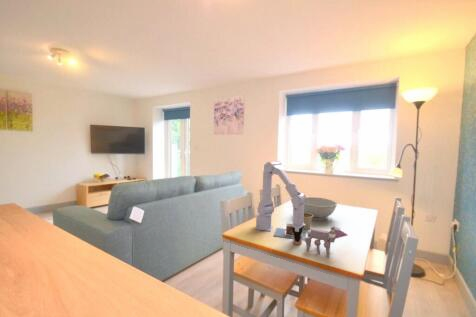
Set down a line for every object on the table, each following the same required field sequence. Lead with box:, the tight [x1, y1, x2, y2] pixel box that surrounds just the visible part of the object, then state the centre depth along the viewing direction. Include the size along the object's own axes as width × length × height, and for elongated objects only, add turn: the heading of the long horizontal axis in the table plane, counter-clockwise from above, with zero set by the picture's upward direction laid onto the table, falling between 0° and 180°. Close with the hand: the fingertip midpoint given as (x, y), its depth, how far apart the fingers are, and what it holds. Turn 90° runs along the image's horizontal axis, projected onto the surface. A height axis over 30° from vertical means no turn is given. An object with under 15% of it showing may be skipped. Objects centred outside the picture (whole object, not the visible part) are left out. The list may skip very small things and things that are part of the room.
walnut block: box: [285, 223, 294, 235], centre depth 141 cm, size 4×4×5 cm
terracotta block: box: [292, 233, 303, 245], centre depth 130 cm, size 4×4×5 cm
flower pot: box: [302, 213, 313, 230], centre depth 151 cm, size 9×9×9 cm
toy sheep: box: [304, 225, 348, 258], centre depth 118 cm, size 20×11×14 cm, turn 59°
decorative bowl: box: [304, 196, 338, 221], centre depth 172 cm, size 27×27×12 cm
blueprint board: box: [273, 227, 307, 242], centre depth 141 cm, size 18×13×1 cm
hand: (297, 239), depth 130 cm, fingers closed on terracotta block, 4 cm apart
